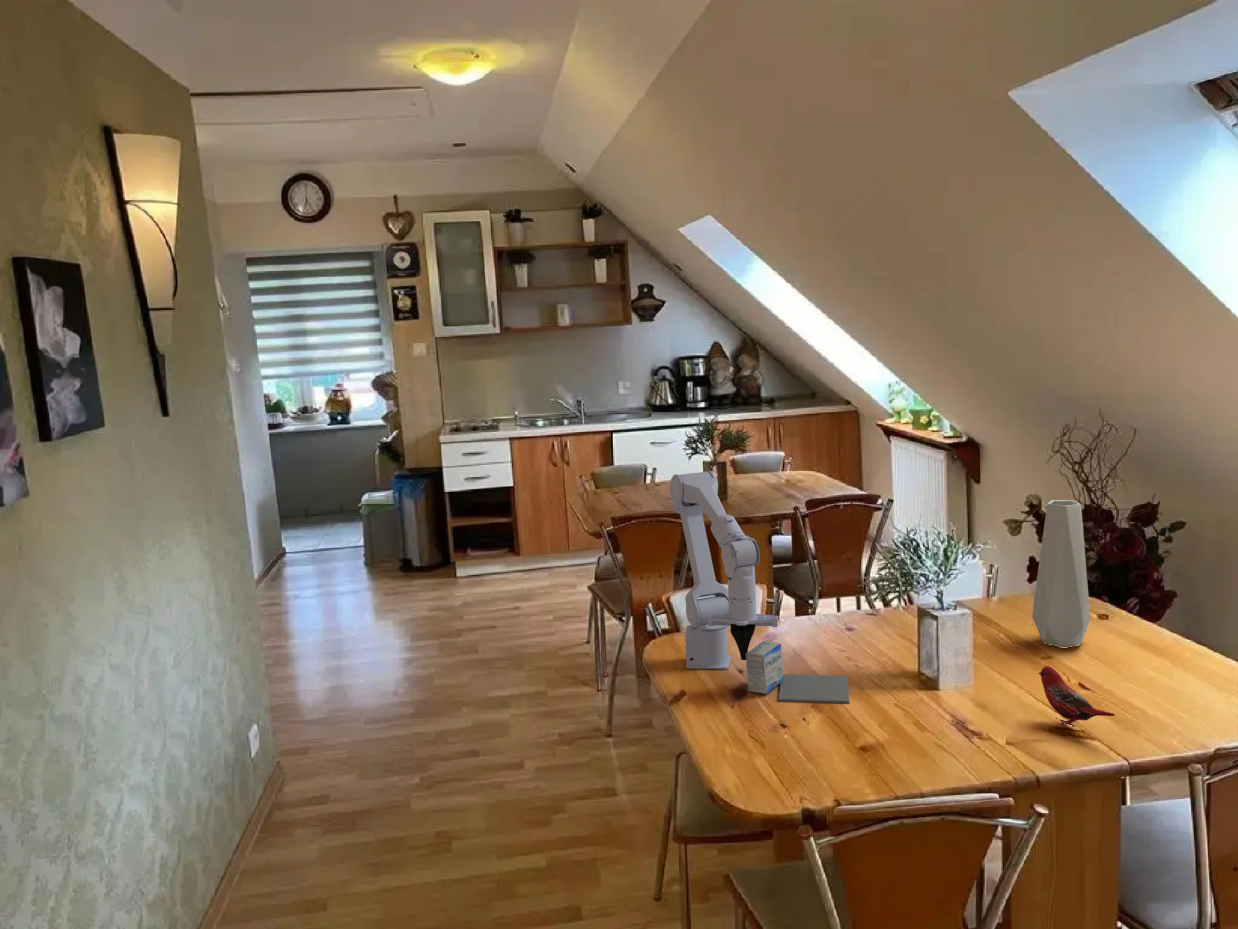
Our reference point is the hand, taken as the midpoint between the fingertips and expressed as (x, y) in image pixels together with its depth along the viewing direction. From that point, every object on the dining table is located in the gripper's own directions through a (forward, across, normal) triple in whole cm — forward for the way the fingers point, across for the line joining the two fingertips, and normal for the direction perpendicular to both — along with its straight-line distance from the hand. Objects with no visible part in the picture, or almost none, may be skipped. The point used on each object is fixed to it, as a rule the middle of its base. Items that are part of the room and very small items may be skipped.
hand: (744, 658), depth 204 cm
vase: (+7, +69, +32) cm, 77 cm away
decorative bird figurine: (+7, +61, -16) cm, 64 cm away
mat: (+6, +14, 0) cm, 16 cm away
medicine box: (+6, +4, 0) cm, 8 cm away
